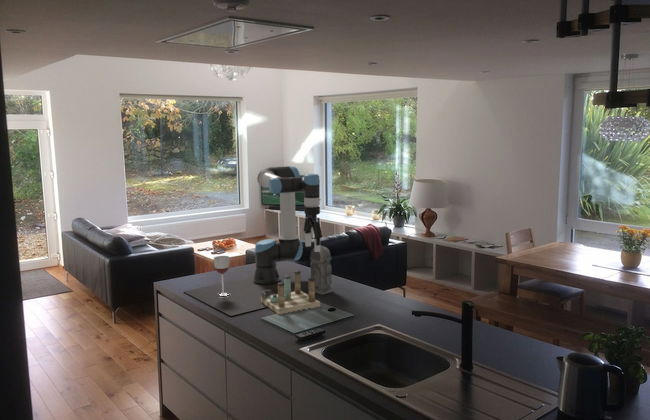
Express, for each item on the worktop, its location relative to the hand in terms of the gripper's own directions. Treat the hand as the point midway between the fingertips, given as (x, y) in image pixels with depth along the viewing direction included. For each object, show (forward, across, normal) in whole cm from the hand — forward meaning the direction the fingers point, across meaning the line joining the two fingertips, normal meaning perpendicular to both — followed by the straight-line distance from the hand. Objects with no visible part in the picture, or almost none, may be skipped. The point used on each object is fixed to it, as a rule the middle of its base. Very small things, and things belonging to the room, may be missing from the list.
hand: (312, 248), depth 268 cm
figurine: (+27, +16, -10) cm, 34 cm away
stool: (+27, +2, +12) cm, 30 cm away
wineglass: (+27, +30, +40) cm, 57 cm away
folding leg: (+24, +2, +16) cm, 29 cm away
